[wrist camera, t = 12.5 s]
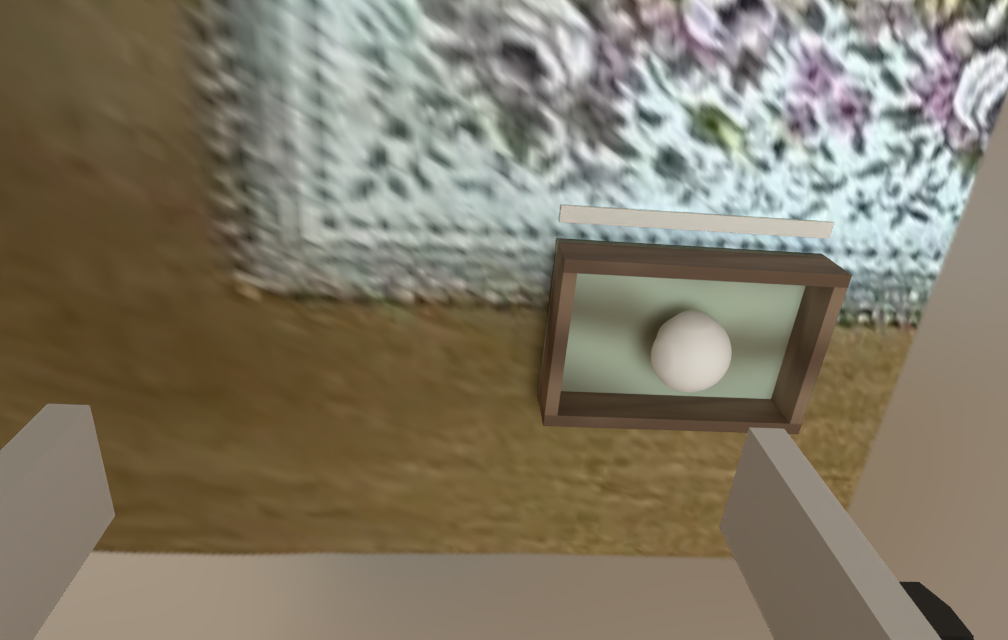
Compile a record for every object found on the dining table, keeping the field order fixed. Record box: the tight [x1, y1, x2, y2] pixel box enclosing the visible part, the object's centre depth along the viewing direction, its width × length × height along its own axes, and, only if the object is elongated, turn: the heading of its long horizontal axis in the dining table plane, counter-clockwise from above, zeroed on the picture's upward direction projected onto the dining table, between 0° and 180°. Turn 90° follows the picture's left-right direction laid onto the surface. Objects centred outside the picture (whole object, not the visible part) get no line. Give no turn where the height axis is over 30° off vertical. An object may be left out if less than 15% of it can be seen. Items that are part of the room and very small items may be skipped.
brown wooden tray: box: [537, 238, 852, 434], centre depth 41 cm, size 11×17×4 cm, turn 85°
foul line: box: [559, 205, 834, 239], centre depth 40 cm, size 1×17×1 cm, turn 85°
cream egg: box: [651, 310, 732, 392], centre depth 40 cm, size 5×5×5 cm
